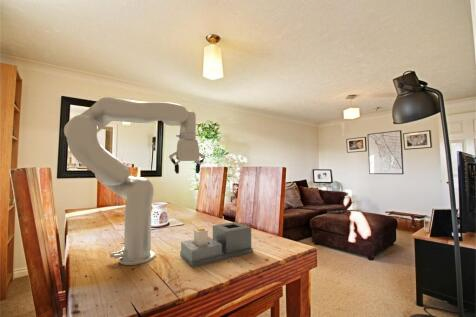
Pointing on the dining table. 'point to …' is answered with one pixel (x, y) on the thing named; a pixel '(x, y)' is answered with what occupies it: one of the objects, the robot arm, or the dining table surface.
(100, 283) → the dining table surface
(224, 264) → the dining table surface
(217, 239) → the socket block
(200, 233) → the plug
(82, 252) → the dining table surface
